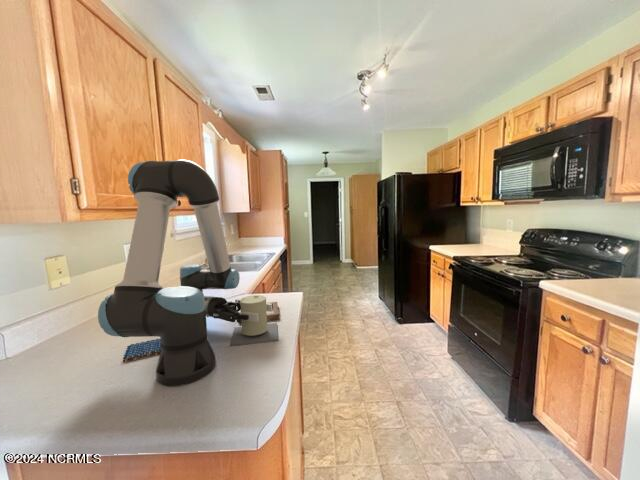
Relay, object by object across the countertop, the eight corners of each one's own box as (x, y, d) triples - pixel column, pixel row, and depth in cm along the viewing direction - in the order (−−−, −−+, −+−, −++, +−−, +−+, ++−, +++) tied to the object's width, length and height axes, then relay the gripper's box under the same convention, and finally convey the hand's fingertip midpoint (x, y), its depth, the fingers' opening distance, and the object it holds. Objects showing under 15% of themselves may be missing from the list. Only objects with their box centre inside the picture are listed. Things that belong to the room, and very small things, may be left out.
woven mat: (163, 355, 86) (162, 349, 85) (122, 364, 81) (122, 358, 80) (164, 341, 95) (164, 336, 94) (128, 349, 90) (127, 344, 90)
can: (270, 324, 101) (269, 293, 100) (263, 336, 92) (261, 302, 91) (247, 324, 102) (245, 293, 101) (237, 335, 93) (235, 302, 92)
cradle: (238, 323, 107) (238, 318, 107) (242, 309, 123) (242, 304, 123) (278, 319, 110) (278, 314, 110) (277, 306, 126) (277, 301, 126)
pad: (229, 346, 89) (229, 344, 89) (234, 328, 102) (234, 327, 102) (278, 340, 92) (278, 339, 92) (276, 324, 105) (276, 323, 105)
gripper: (231, 306, 113) (279, 311, 105) (192, 328, 92) (248, 336, 85) (230, 289, 112) (278, 293, 104) (190, 307, 91) (246, 313, 84)
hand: (265, 312), depth 95 cm, fingers closed on can, 9 cm apart
